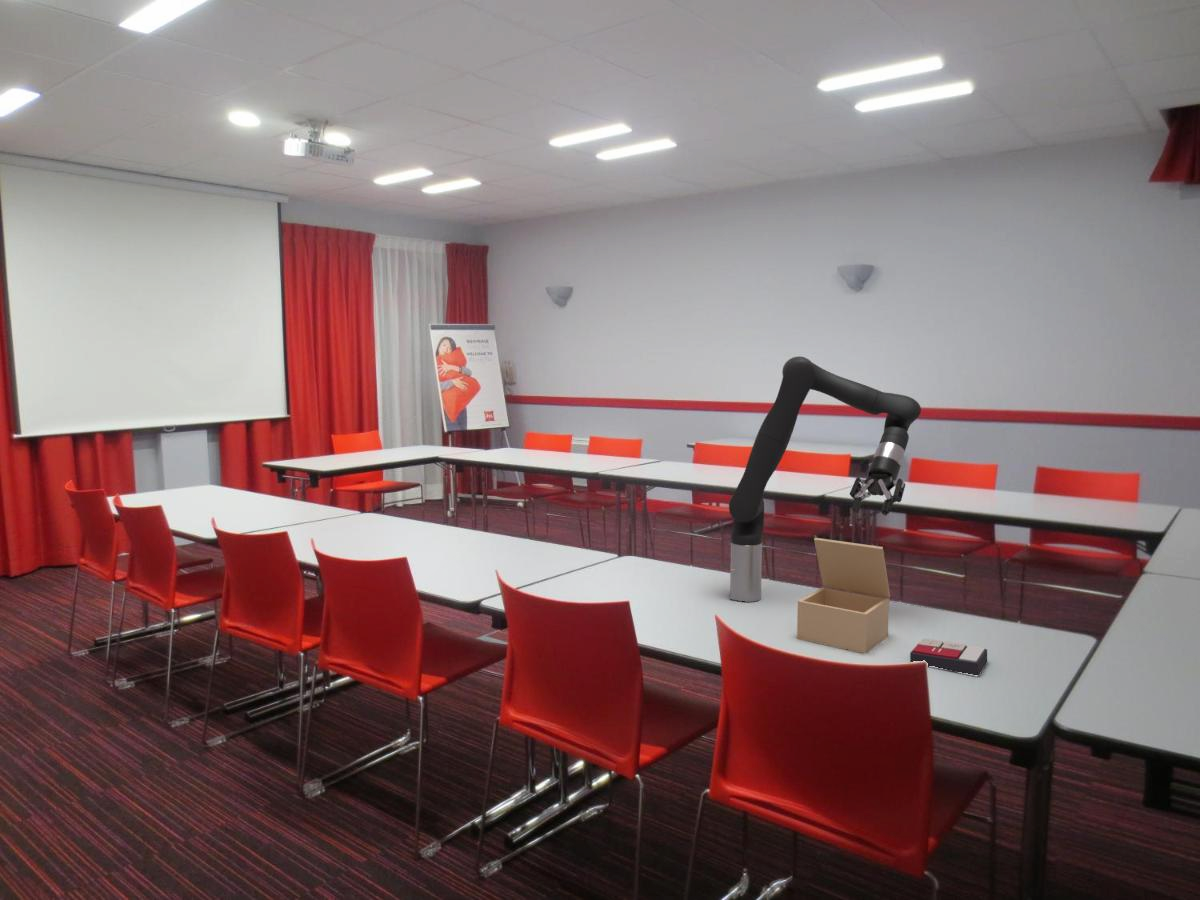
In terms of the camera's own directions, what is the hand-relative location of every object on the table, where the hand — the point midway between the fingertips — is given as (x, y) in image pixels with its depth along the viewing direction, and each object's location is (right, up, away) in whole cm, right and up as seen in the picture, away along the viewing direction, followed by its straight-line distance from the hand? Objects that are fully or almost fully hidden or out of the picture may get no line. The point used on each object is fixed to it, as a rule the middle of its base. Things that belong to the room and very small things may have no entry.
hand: (869, 512), depth 217 cm
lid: (-7, -14, -6) cm, 17 cm away
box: (-9, -32, -7) cm, 34 cm away
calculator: (+10, -34, -25) cm, 44 cm away
